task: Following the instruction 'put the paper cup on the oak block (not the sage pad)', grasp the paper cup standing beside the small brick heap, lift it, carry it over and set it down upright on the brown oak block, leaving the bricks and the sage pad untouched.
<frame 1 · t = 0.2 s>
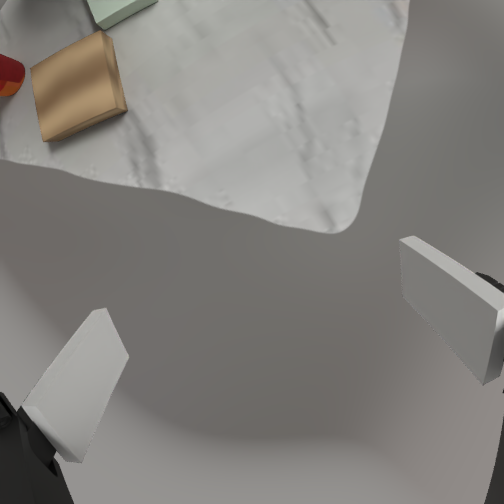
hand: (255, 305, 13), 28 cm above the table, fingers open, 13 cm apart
oak block: (82, 89, 34), on the table
paper cup: (12, 79, 33), on the table
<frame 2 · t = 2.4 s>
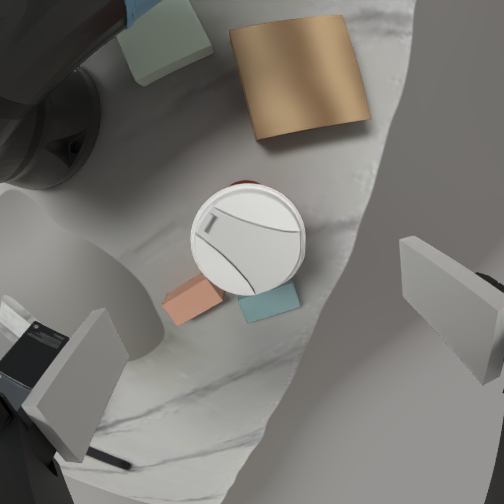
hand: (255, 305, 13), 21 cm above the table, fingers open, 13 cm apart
brick b: (267, 291, 37), on the table
brick a: (195, 291, 37), on the table
oak block: (295, 79, 30), on the table
sage pad: (164, 39, 28), on the table
paper cup: (246, 206, 34), on the table
box: (51, 368, 41), on the table
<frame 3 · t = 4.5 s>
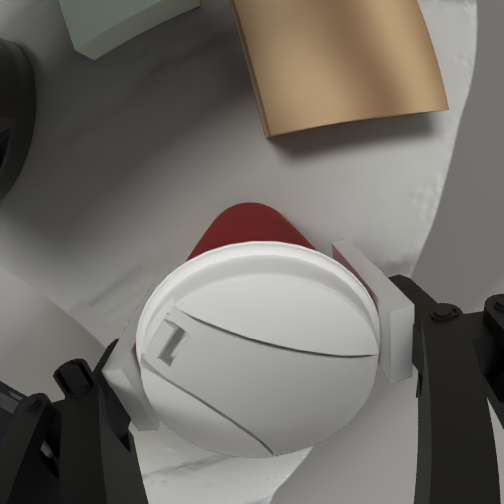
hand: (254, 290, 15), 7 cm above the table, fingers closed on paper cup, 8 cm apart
oak block: (327, 45, 18), on the table
paper cup: (250, 243, 22), on the table, touching gripper
box: (16, 424, 29), on the table
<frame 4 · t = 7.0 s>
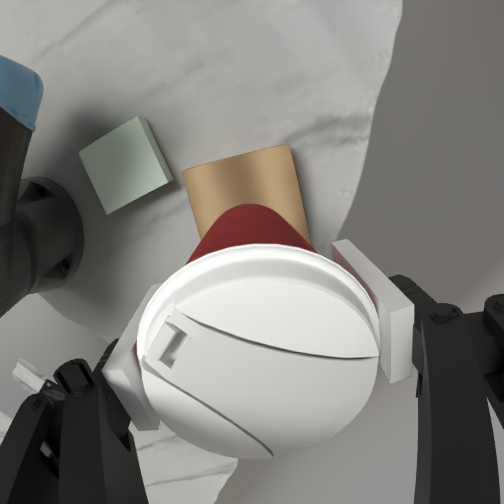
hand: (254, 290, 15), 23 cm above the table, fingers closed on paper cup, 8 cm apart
oak block: (247, 203, 36), on the table
sage pad: (129, 164, 35), on the table
paper cup: (251, 244, 22), point 16 cm above the table, touching gripper
box: (62, 413, 48), on the table
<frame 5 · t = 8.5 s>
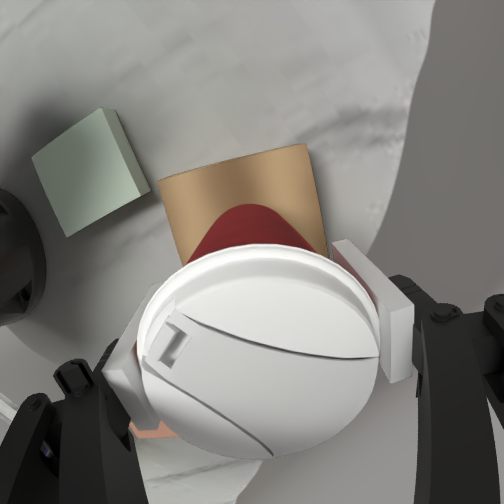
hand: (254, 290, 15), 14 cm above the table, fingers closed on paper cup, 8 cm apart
brick a: (159, 412, 35), on the table
oak block: (248, 221, 28), on the table
sage pad: (95, 171, 26), on the table
paper cup: (251, 244, 22), point 6 cm above the table, touching gripper
when the fingers open (12 cm above the table, at t = 9.7 s): paper cup stays where it is, resting on oak block.
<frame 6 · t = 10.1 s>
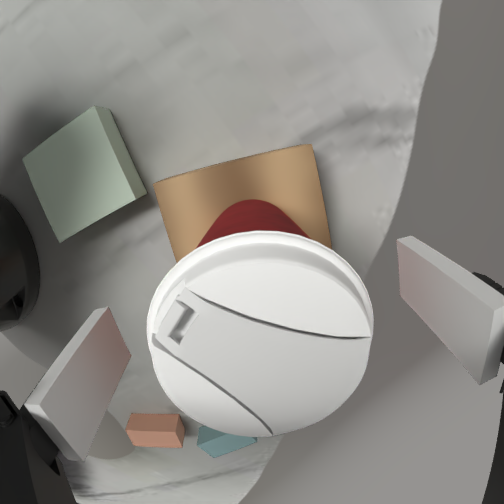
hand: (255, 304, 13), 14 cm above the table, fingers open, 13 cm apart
brick b: (227, 425, 34), on the table
brick a: (158, 421, 33), on the table
oak block: (249, 226, 26), on the table
sage pad: (89, 173, 24), on the table
paper cup: (253, 238, 23), point 4 cm above the table, touching oak block
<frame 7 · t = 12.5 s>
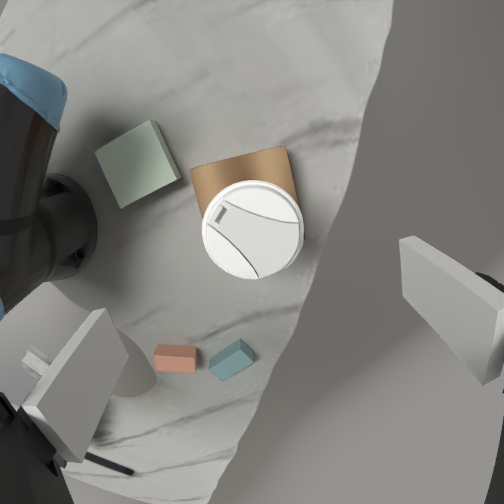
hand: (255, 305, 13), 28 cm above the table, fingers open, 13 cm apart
brick b: (231, 354, 48), on the table
brick a: (178, 352, 48), on the table
oak block: (248, 199, 40), on the table
sage pad: (141, 163, 38), on the table
paper cup: (250, 203, 37), point 4 cm above the table, touching oak block
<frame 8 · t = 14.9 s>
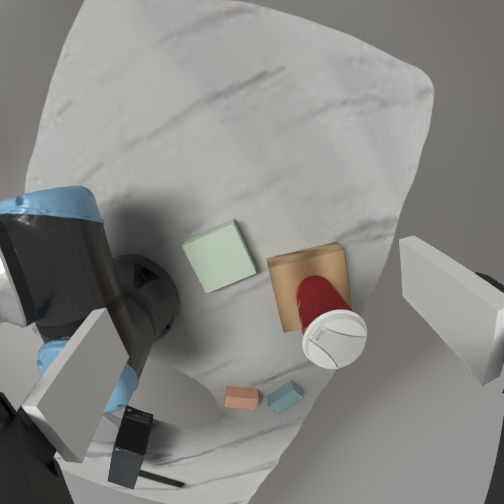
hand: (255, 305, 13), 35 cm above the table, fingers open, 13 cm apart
brick b: (284, 392, 58), on the table
brick a: (241, 392, 58), on the table
oak block: (308, 282, 51), on the table
sage pad: (220, 253, 49), on the table
paper cup: (314, 292, 47), point 4 cm above the table, touching oak block
box: (135, 430, 62), on the table
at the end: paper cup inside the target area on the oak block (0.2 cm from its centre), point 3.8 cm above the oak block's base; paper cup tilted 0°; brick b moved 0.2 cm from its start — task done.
